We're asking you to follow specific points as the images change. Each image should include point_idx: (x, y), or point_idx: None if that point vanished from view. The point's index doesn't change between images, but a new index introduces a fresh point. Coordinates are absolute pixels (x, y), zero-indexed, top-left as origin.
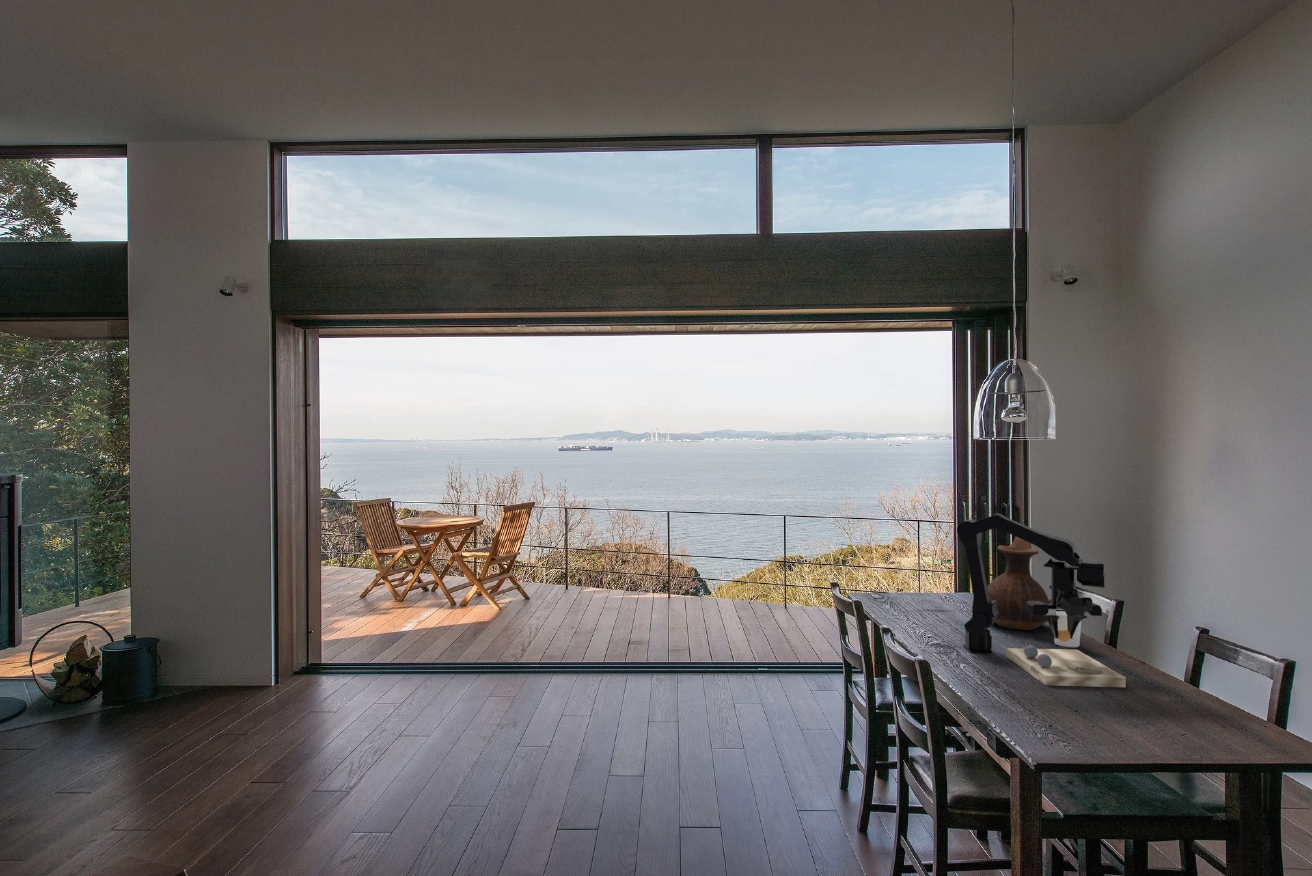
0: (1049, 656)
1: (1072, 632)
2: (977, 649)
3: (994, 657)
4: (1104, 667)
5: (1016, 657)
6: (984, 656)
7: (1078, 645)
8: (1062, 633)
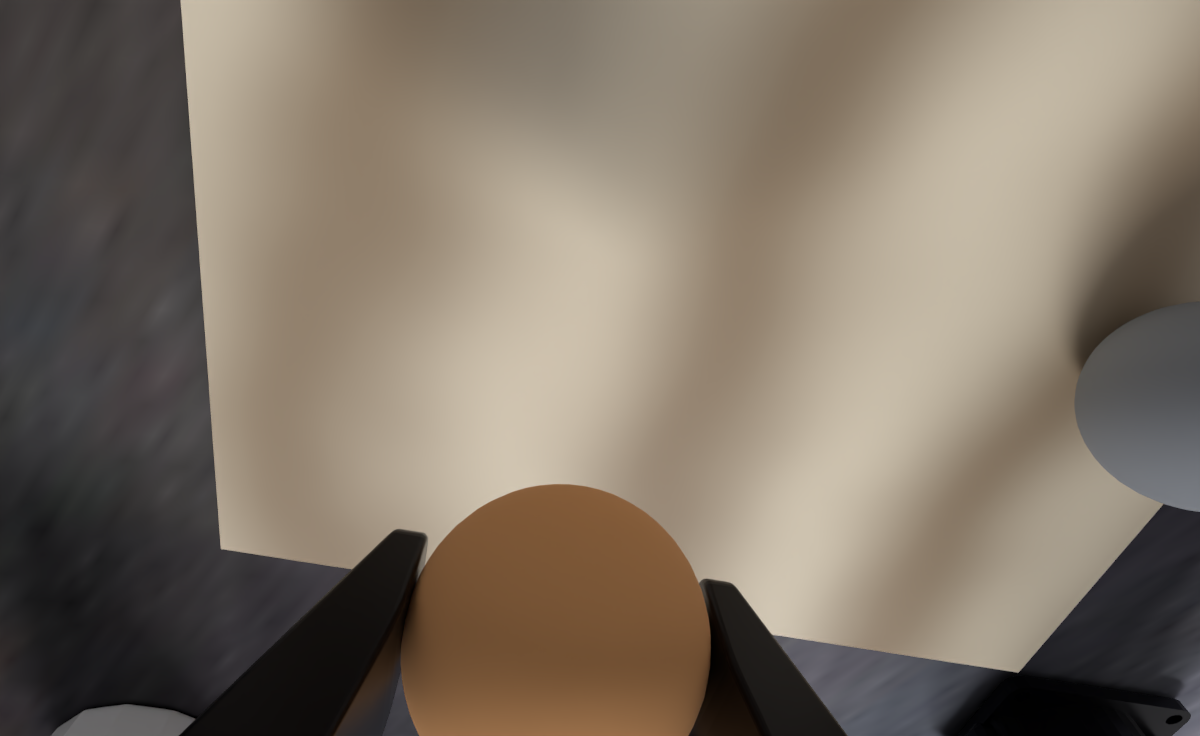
0: (806, 372)
1: (345, 641)
2: (1133, 723)
3: (1104, 591)
4: None
5: None
6: (1164, 621)
7: (71, 722)
8: (663, 636)
